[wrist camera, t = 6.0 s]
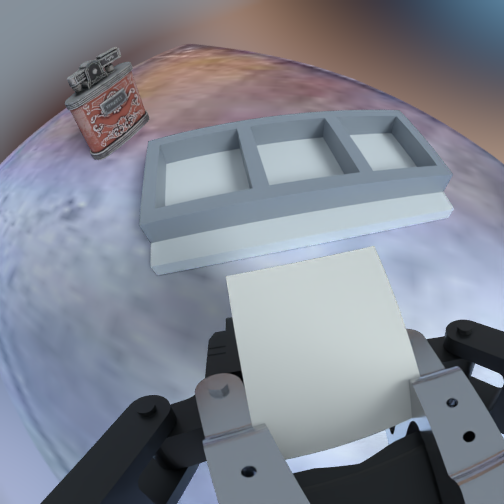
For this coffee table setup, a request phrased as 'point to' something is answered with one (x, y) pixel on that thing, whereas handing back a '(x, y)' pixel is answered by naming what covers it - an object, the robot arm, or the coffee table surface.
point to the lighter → (106, 103)
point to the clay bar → (322, 350)
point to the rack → (286, 185)
